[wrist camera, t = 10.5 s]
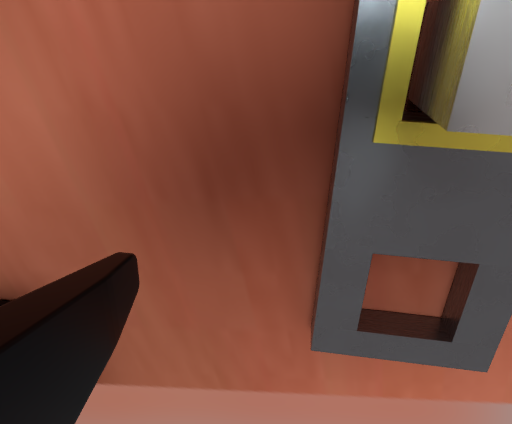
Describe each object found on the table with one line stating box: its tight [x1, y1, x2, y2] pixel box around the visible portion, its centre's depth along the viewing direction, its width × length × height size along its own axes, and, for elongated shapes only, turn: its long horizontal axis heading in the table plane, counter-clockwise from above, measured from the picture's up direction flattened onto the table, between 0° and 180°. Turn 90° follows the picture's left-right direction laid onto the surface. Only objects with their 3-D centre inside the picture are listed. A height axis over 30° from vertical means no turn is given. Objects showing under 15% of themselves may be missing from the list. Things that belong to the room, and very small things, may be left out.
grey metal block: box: [408, 0, 512, 136], centre depth 15 cm, size 4×4×6 cm
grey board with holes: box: [311, 0, 512, 372], centre depth 19 cm, size 10×21×2 cm, turn 177°
